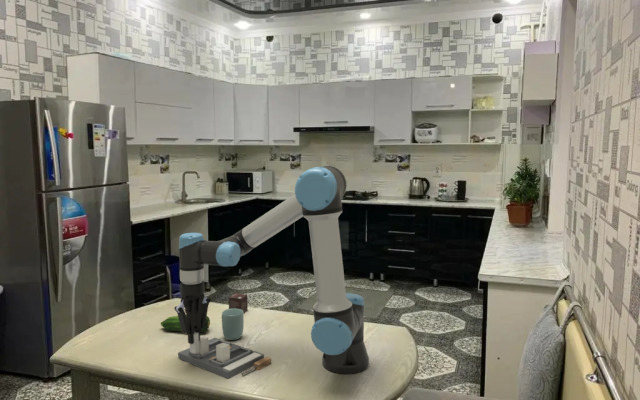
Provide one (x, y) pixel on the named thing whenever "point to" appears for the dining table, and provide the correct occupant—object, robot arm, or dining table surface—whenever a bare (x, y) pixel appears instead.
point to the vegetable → (174, 324)
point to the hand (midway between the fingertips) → (194, 351)
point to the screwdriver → (259, 364)
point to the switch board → (236, 364)
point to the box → (238, 302)
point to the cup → (232, 323)
